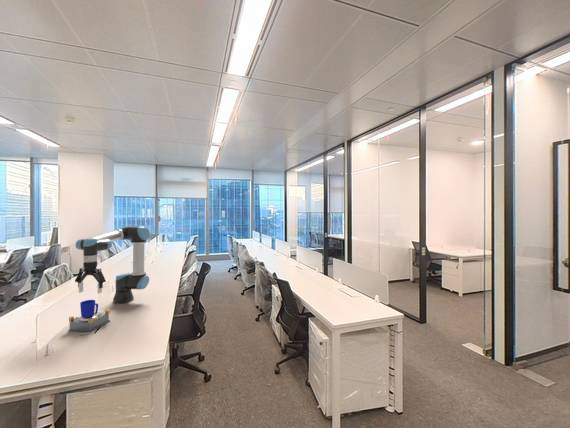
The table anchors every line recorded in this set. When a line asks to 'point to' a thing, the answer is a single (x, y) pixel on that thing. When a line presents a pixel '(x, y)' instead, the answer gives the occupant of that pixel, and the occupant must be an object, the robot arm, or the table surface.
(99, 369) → the table surface
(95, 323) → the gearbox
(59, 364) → the table surface
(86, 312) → the mug
